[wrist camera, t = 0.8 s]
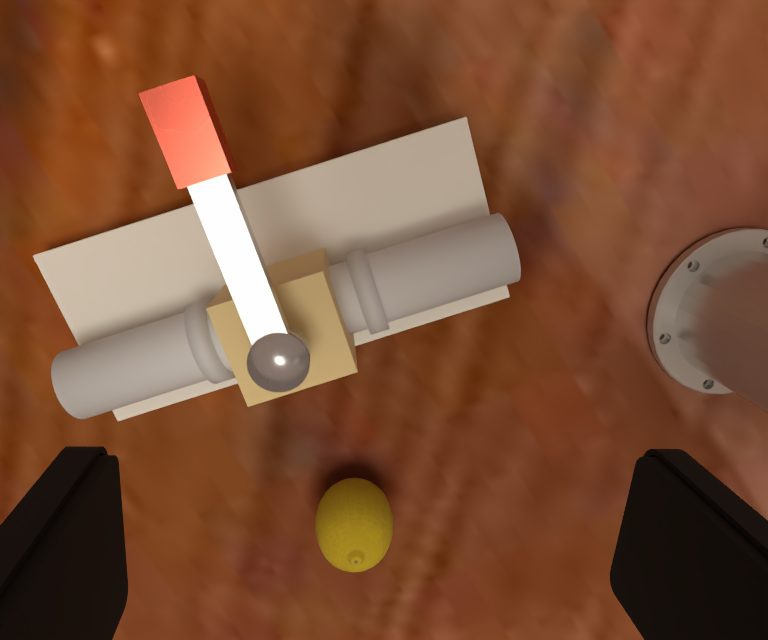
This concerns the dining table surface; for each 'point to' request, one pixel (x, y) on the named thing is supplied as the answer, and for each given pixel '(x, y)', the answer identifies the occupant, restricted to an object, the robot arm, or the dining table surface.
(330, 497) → the lemon
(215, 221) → the valve lever
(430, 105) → the dining table surface
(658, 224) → the dining table surface
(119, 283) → the valve base
